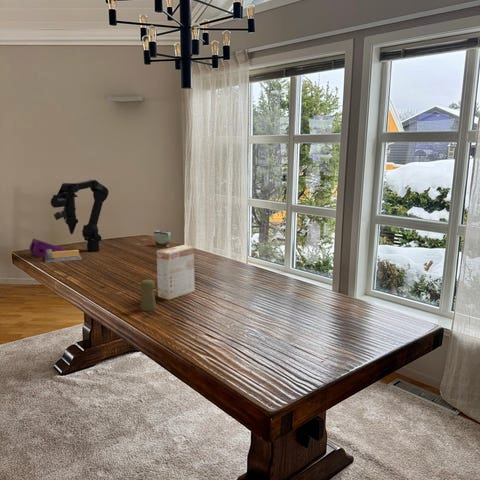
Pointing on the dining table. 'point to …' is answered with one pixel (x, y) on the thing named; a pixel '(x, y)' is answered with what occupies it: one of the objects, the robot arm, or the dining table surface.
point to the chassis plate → (63, 259)
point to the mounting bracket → (42, 248)
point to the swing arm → (61, 253)
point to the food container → (162, 238)
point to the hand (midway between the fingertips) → (71, 233)
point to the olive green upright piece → (147, 295)
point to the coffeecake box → (175, 271)
